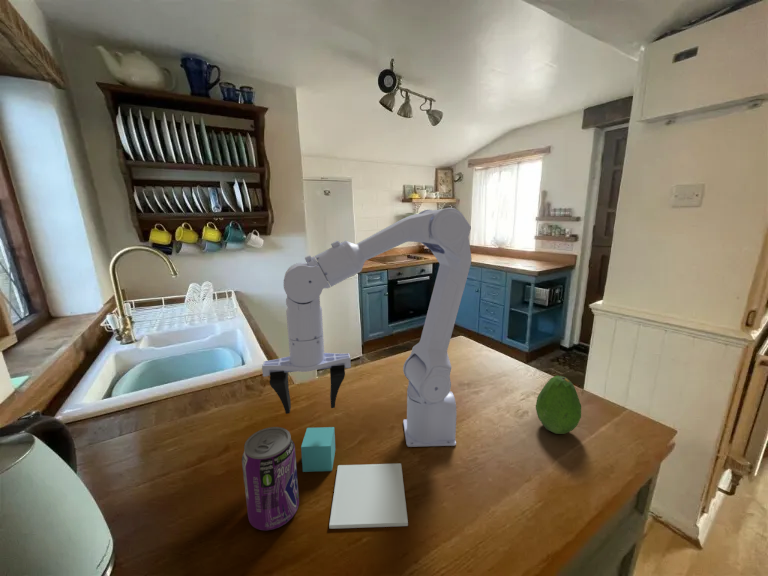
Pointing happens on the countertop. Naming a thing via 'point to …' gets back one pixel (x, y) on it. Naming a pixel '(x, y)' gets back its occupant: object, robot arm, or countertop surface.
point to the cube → (318, 449)
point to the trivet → (368, 497)
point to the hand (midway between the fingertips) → (310, 407)
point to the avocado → (558, 406)
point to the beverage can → (270, 478)
